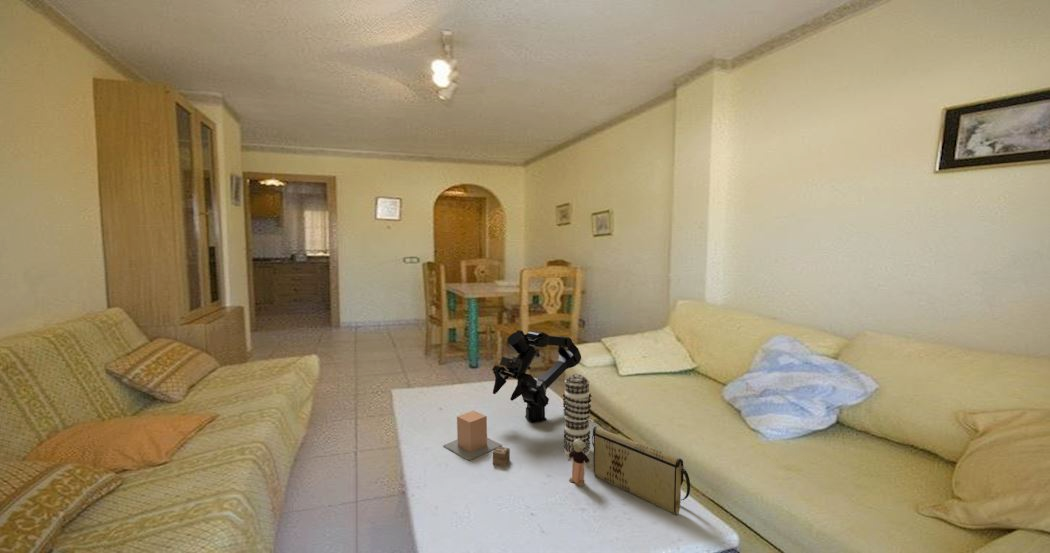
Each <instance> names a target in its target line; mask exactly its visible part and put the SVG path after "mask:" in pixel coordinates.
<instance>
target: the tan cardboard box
mask: <svg viewBox="0 0 1050 553" xmlns="http://www.w3.org/2000/svg"><path fill="white" fill-rule="evenodd" d="M487 420H488V418H487V415H485V414H482V413H480V412H478V411H475V410H471V411H469V412H465V413H463V414H459V415H458V416H456V425H457V426H456V429H457V430H456V431H457V432H456V433H457V437H456V438H457V439H458V446H460V447H462V448H464V449H466V450H468V451H470V452H472V451H474V450H477V449H479V448H481V447H483V446H485V445H487V438H488V429H487V428H488V427H487V426H488V425H487Z"/></svg>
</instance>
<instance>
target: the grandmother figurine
mask: <svg viewBox="0 0 1050 553" xmlns="http://www.w3.org/2000/svg"><path fill="white" fill-rule="evenodd" d="M573 444H574V450H573V451H572V452H571V453H570V454H569V456H568V457H567V461H568V462H571V461H572V470H571V476H570V477H569V479H568V481H569V482H570V483H576V484H577V486H583V485H584V484H585V483H586V481H585V464H586V466H587V468H588V469H591V468H592V465H591V462H590V461H591V460H590V459H589V457H588V455H587V456H586V455H585V454H584V453H583V452H582V450H583V449H584V448H585V444H584V443H583V441H582V440H580V439H575V440H574V442H573ZM572 459H573V460H572ZM584 482H585V483H584Z"/></svg>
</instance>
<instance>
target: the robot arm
mask: <svg viewBox="0 0 1050 553" xmlns="http://www.w3.org/2000/svg"><path fill="white" fill-rule="evenodd" d="M506 340H507V344H508V345H509V346H510V347H511V348H512V349H513V350H514V351H515V353H517V356H516V357H515V356H513V357H512V358H508V357H505V356H501V359H500V362H499V364H495V365H494V366H493V368H492V369H491V371H492V372H493V375H494V377H495V380H494V385H493V388H492V394H494V395H496V394H497V393H498V392H499V391H500V389H501V388H502V387H503V386H504V385H505V384H506V382H508V379H509V378H510V379H513V380H516V381H517V384H516V387H515V388H514V390H513V392H512V394H511V396H510V401H512V402H513V401H514V400H516V399H517V398H519V397H520V396H521V397H522V400H523V403H526V407H525V416H524V417H525V418H526V419H527V421H529V423H531V424H535V423H538V422H539V423H540V422H545V421H547V420H548V419H547V417H546V406H547V405H548V404H549V402H550V398H549V397H548V396H547V389H548V388H549V387H550V386H551V385H552V384H553V383H555V382H556V380H557V379H558V378H559V377H560V376H561V375H562V374H563V373H564V372H566V370H568V369H572V368H575V367H576V366H577V365H579V364H580V362H581V360H582V354H581V352H580V350H579V348H578V347H577V346H576V344H574V343H573V340H572V339H571V338H570V337H569V336H565V335H564V336H563V335H560V336H559V335H549V334H548V333H545V332H543V331H542V332H541V331H538V330H532V329H531V330H528V332H527V333H524V331H523V330H521V329H517V330H516V331H515V332H513V333H511V334H510V335H509V336H508V337H507V339H506ZM548 346H556V347H558V350H557V352H558V360H557V361H556V362H554V363H553V365H551V366H550V367H549V368H548V369H547V370H546V371H545V372H543V374H542V375H541V376H540V377H539V378H538V379H536V378H534V377H533V375H532V374H530V373H527V371H530V370H531V368H532V367H531V366H530V365H531V364H532V363H533V360H534V359H535V357H537V358H540V351H539V349H537V348H545V347H548ZM535 347H537V348H535Z"/></svg>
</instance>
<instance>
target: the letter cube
mask: <svg viewBox="0 0 1050 553" xmlns="http://www.w3.org/2000/svg"><path fill="white" fill-rule="evenodd" d="M510 456H511V455H510V448H509V447H502V446H501V447H499V446H498V447H497V448H496V449H494V450H492V465H494V466H500V467H506V466H507V464H508V463H509V462H510Z"/></svg>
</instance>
